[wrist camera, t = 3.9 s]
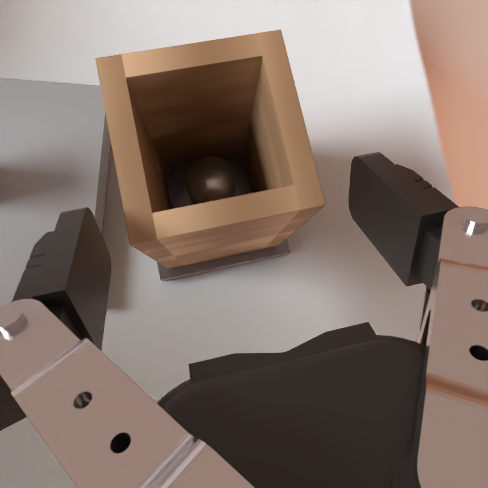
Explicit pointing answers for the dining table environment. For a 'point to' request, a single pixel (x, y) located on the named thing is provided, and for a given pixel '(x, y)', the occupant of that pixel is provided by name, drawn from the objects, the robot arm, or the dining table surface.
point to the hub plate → (47, 165)
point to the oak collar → (209, 144)
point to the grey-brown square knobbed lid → (205, 190)
